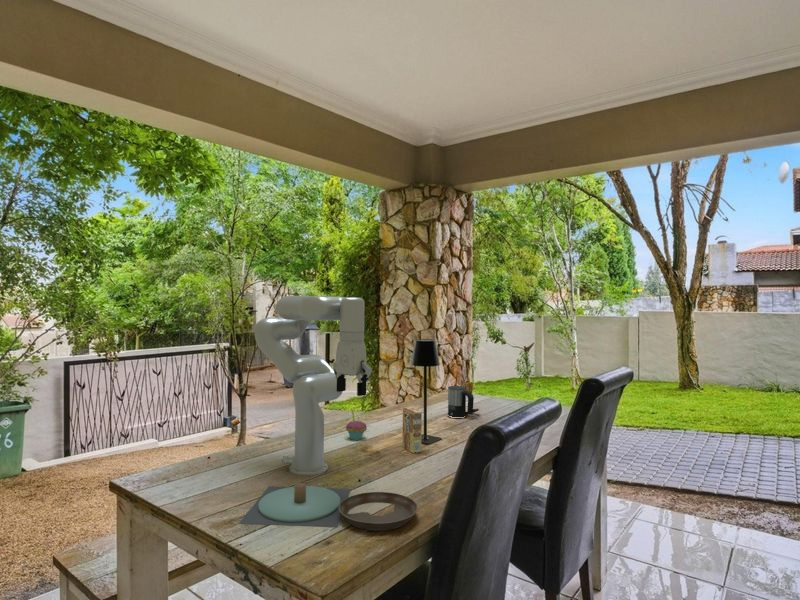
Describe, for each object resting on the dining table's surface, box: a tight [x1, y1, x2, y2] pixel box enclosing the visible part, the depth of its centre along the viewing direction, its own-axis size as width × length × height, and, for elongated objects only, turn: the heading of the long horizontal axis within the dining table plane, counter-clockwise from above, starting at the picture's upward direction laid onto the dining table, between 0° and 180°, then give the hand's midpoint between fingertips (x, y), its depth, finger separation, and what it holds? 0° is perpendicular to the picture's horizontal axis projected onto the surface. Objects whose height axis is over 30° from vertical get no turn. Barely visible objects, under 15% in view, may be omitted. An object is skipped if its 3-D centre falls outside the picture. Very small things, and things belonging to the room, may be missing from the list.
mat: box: [238, 485, 352, 528], centre depth 136 cm, size 25×25×1 cm
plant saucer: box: [339, 491, 418, 531], centre depth 130 cm, size 21×21×3 cm
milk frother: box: [447, 385, 480, 417], centre depth 248 cm, size 14×16×15 cm
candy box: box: [402, 407, 423, 454], centre depth 190 cm, size 9×4×15 cm, turn 26°
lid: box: [259, 482, 340, 523], centre depth 136 cm, size 22×22×5 cm
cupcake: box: [345, 409, 368, 441], centre depth 204 cm, size 9×8×12 cm
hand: (351, 393), depth 151 cm, fingers open, 9 cm apart
